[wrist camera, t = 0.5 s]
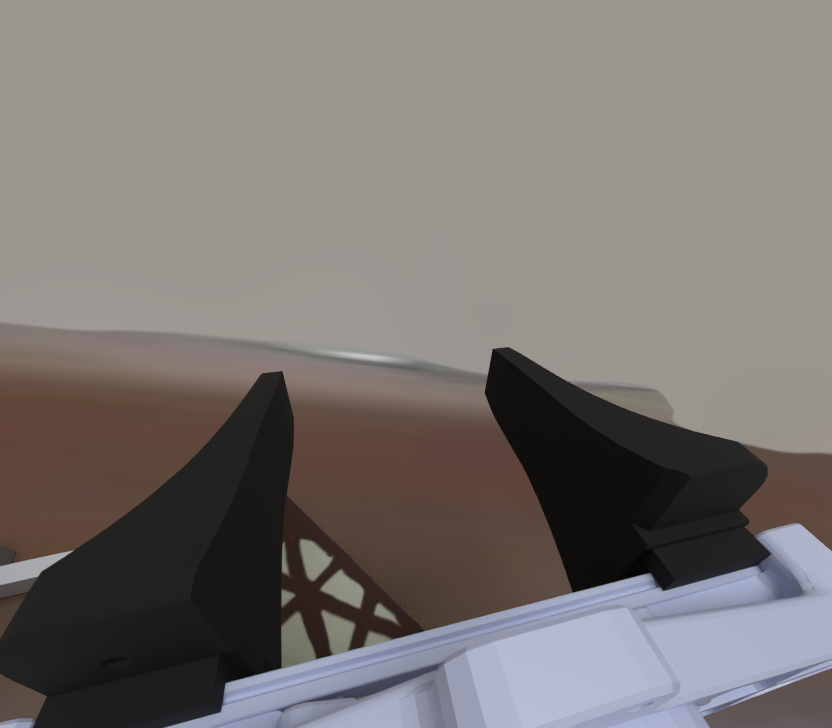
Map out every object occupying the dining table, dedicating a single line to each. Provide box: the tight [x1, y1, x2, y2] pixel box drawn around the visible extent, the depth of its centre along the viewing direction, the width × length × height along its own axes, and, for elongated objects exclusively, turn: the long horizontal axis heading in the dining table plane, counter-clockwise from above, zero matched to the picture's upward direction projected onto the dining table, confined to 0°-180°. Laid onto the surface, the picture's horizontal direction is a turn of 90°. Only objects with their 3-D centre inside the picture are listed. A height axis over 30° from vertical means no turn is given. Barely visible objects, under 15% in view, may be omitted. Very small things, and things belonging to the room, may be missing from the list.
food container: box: [281, 496, 424, 701], centre depth 19 cm, size 12×6×10 cm, turn 52°
